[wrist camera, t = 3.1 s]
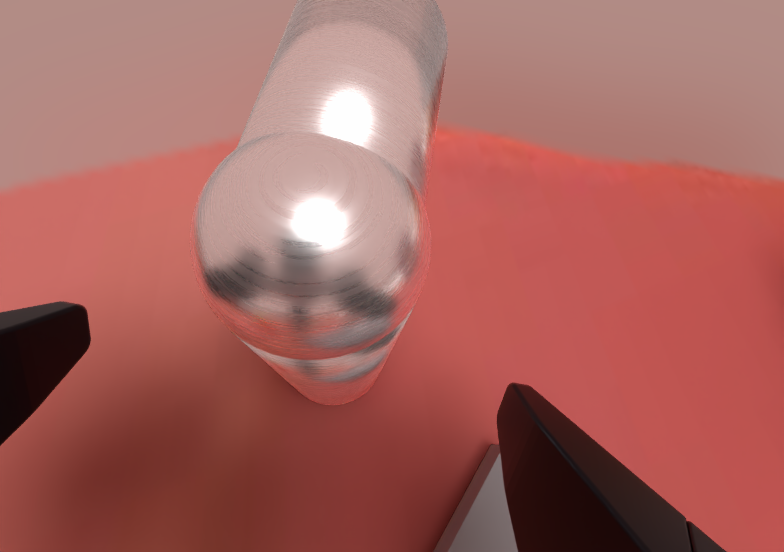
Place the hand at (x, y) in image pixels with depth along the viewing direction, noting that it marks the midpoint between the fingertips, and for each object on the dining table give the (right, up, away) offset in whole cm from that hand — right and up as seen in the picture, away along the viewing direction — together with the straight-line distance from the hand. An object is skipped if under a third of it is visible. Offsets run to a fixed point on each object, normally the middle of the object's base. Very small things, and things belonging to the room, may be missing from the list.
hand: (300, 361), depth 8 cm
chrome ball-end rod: (0, 0, +10) cm, 10 cm away
